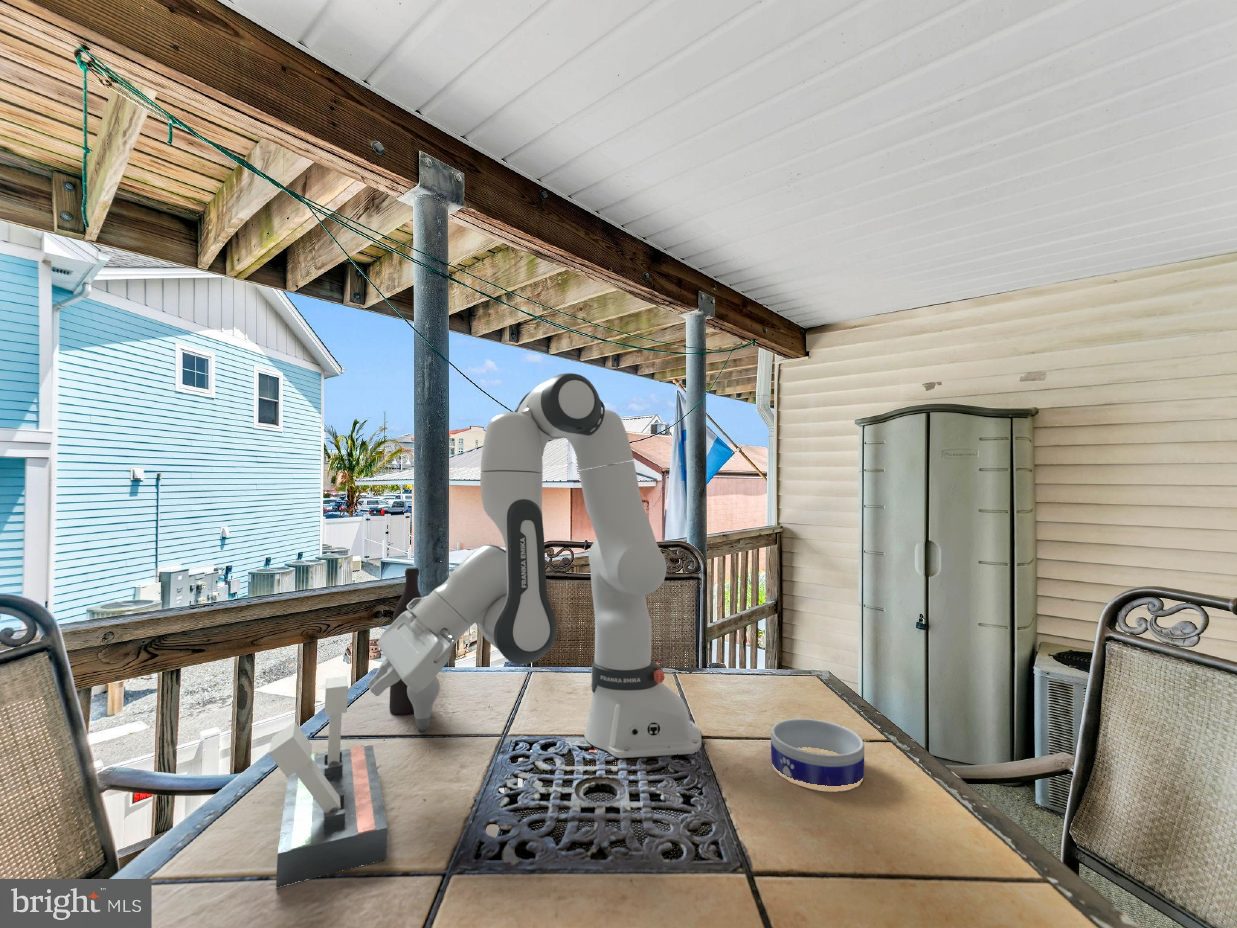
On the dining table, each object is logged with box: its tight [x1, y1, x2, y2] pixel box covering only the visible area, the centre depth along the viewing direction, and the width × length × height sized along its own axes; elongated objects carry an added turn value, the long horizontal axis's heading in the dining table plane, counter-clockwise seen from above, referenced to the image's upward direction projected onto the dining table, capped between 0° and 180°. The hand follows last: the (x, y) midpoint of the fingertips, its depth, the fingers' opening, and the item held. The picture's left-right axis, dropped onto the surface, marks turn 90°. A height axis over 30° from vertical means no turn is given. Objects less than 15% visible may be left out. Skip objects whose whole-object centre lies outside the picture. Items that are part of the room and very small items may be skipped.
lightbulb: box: [407, 676, 441, 731], centre depth 111 cm, size 6×6×11 cm
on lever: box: [268, 721, 340, 813], centre depth 74 cm, size 3×5×13 cm
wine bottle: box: [388, 566, 422, 716], centre depth 122 cm, size 7×7×30 cm
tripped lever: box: [324, 675, 349, 765], centre depth 87 cm, size 3×5×13 cm, turn 27°
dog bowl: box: [770, 718, 865, 786], centre depth 98 cm, size 15×15×6 cm
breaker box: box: [275, 744, 388, 888], centre depth 81 cm, size 12×26×5 cm, turn 27°
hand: (371, 690), depth 89 cm, fingers closed
